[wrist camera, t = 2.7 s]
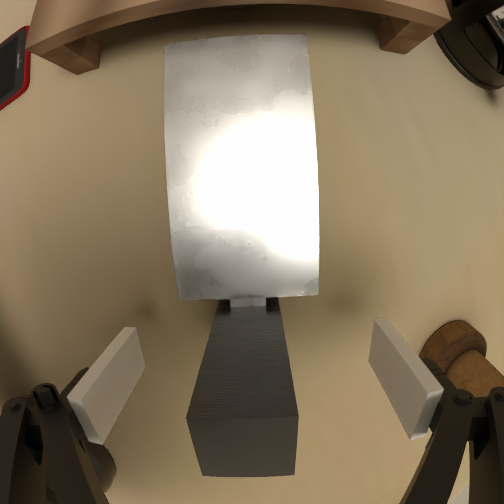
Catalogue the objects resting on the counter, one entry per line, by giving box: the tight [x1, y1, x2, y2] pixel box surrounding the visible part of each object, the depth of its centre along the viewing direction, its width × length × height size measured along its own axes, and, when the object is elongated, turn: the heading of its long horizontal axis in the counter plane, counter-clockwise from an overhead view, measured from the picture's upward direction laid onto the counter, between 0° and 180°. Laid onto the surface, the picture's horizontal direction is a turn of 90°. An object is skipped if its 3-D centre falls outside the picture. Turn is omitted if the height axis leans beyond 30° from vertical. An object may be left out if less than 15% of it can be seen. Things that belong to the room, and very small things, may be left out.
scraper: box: [164, 34, 319, 477], centre depth 13 cm, size 8×19×12 cm, turn 3°
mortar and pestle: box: [420, 321, 504, 397], centre depth 12 cm, size 7×6×18 cm
